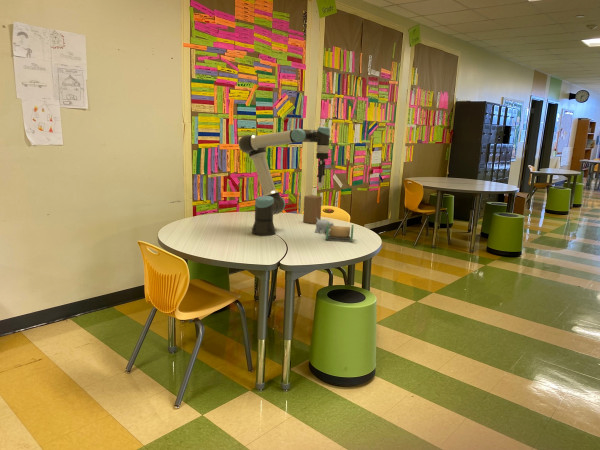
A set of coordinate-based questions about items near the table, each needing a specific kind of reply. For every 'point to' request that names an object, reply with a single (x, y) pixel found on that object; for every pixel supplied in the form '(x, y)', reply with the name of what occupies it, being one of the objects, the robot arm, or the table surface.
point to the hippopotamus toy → (322, 226)
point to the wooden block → (312, 209)
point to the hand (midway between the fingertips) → (320, 186)
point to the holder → (338, 237)
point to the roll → (339, 231)
